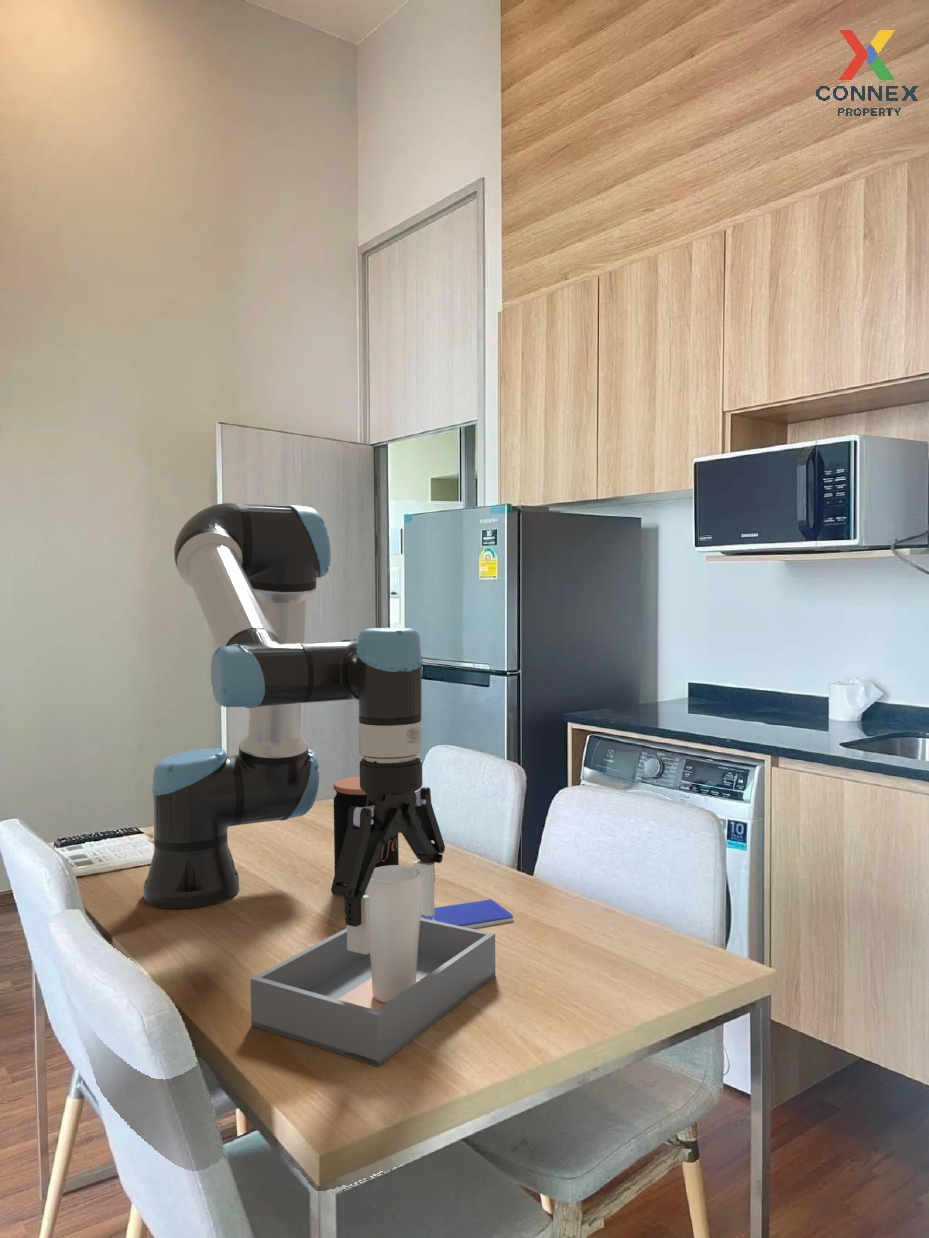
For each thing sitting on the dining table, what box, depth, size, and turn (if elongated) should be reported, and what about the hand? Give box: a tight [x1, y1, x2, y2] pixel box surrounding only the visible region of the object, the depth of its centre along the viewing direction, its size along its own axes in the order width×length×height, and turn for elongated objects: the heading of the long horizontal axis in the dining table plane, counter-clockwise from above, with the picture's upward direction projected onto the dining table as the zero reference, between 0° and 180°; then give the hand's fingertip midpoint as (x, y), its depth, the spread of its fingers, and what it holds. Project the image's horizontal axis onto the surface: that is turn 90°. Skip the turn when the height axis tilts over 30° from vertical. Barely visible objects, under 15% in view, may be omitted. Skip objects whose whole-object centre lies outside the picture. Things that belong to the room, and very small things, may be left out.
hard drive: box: [420, 898, 514, 929], centre depth 137 cm, size 2×8×12 cm
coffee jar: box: [333, 775, 400, 895], centre depth 151 cm, size 11×11×18 cm
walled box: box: [250, 918, 496, 1068], centre depth 110 cm, size 18×26×6 cm
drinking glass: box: [365, 864, 421, 1003], centre depth 109 cm, size 7×7×15 cm
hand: (393, 931), depth 109 cm, fingers open, 13 cm apart
